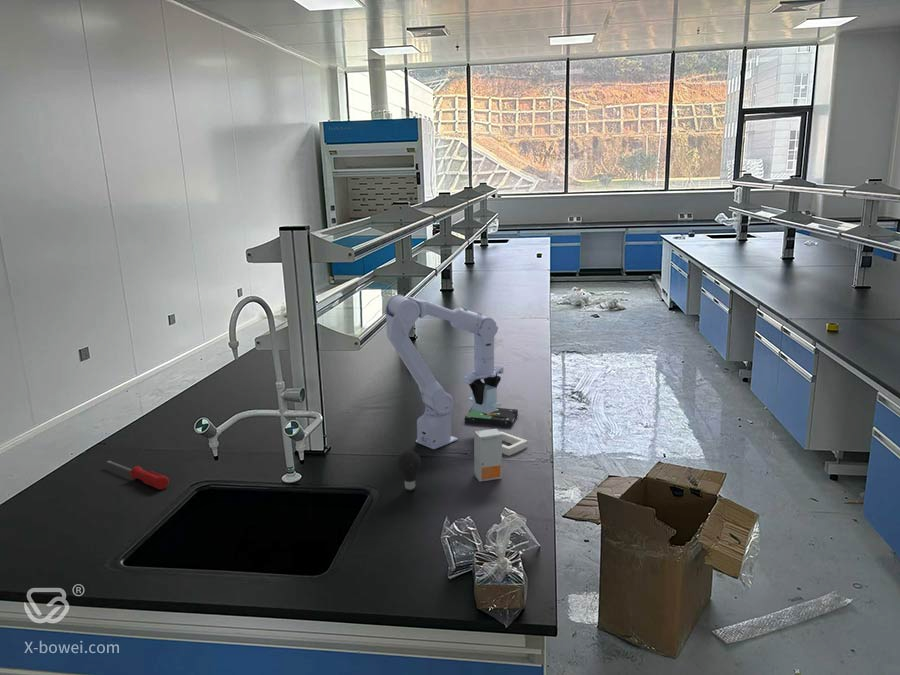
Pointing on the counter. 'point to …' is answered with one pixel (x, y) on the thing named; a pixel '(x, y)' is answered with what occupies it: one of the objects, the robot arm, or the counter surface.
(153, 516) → the counter surface
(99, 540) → the counter surface
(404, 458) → the light bulb
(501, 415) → the disk drive
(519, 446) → the frame
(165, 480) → the screwdriver
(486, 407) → the block
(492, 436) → the skincare box
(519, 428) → the counter surface
